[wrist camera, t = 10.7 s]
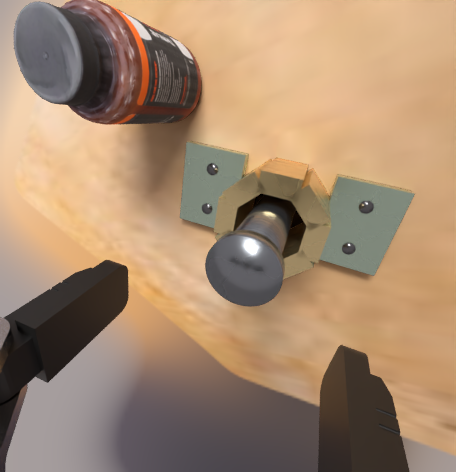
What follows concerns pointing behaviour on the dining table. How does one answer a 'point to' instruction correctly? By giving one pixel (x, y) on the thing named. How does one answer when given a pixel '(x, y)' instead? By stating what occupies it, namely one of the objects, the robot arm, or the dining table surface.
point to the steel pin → (252, 254)
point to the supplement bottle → (105, 63)
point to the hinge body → (305, 201)
